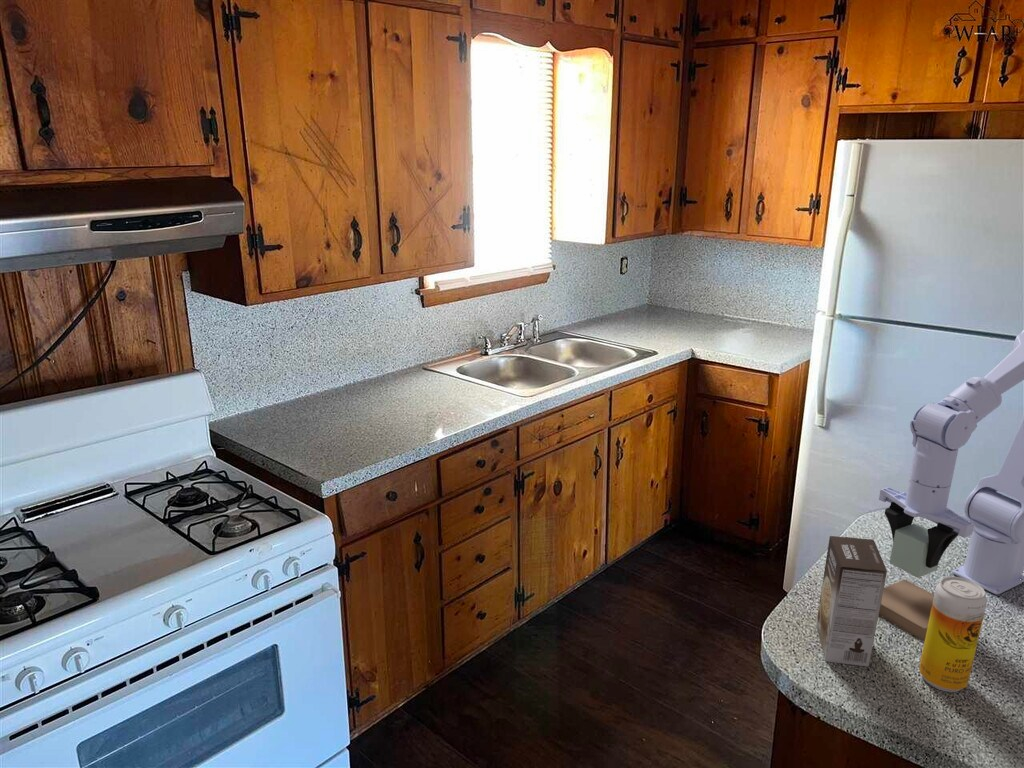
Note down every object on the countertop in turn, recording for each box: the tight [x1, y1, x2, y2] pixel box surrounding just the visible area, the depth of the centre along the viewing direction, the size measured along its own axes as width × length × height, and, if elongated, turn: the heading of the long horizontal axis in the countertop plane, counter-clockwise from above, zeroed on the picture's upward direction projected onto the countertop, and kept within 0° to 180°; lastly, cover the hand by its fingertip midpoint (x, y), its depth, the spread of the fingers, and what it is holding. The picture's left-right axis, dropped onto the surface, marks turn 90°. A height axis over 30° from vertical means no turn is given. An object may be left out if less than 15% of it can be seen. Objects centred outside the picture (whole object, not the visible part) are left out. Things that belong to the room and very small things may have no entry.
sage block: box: [889, 522, 940, 578], centre depth 123 cm, size 5×5×6 cm
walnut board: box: [879, 578, 935, 641], centre depth 123 cm, size 10×10×2 cm
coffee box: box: [815, 535, 888, 667], centre depth 113 cm, size 9×6×16 cm
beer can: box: [918, 576, 988, 693], centre depth 106 cm, size 6×6×15 cm
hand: (915, 557), depth 124 cm, fingers closed on sage block, 5 cm apart
